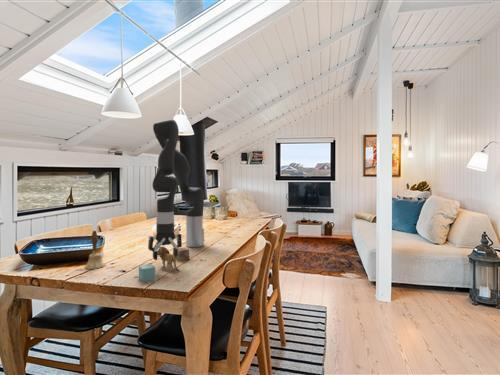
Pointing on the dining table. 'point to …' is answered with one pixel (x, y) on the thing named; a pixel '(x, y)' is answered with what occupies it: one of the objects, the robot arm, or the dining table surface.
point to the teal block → (146, 272)
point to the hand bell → (94, 255)
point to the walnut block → (182, 254)
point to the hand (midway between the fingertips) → (165, 258)
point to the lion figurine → (167, 258)
